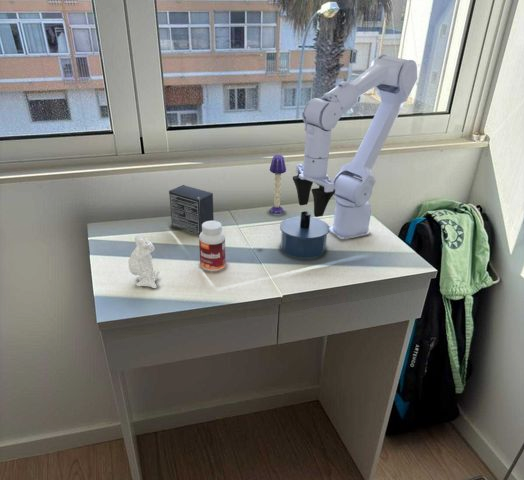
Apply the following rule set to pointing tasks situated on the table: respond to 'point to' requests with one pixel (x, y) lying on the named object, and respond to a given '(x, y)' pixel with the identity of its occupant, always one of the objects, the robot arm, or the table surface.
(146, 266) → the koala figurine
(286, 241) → the bowl
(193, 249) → the table surface
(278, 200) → the toy lamp
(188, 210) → the small box
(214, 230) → the pill bottle
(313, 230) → the lid
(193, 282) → the table surface
